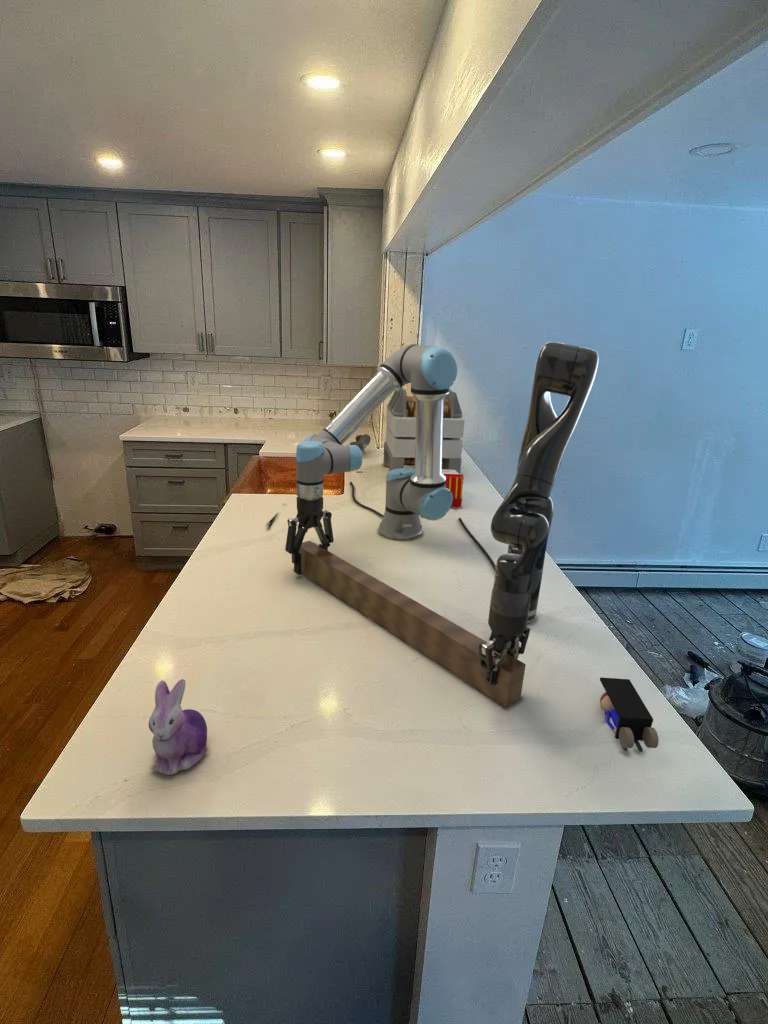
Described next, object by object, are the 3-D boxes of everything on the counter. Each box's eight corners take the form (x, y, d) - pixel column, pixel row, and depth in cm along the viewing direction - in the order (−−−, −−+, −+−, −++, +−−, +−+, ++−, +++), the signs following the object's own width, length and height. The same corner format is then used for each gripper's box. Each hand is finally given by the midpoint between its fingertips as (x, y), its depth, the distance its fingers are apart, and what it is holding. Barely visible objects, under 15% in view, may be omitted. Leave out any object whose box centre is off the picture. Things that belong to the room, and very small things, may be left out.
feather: (285, 507, 224) (287, 503, 224) (267, 531, 198) (270, 526, 197) (281, 504, 224) (284, 500, 223) (263, 528, 197) (265, 524, 197)
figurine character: (654, 765, 103) (622, 703, 116) (665, 735, 100) (631, 675, 113) (618, 764, 103) (590, 702, 116) (628, 734, 99) (598, 674, 113)
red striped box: (455, 465, 253) (467, 475, 224) (454, 495, 256) (465, 508, 227) (428, 465, 253) (437, 474, 224) (427, 494, 256) (435, 507, 226)
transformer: (382, 463, 289) (386, 382, 275) (445, 464, 293) (451, 384, 279) (390, 482, 257) (394, 392, 243) (460, 483, 261) (468, 394, 247)
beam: (295, 569, 169) (295, 544, 167) (309, 565, 173) (309, 540, 170) (505, 707, 114) (510, 673, 111) (520, 698, 117) (525, 664, 115)
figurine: (156, 786, 92) (147, 710, 87) (149, 745, 100) (140, 673, 95) (215, 767, 96) (210, 694, 91) (204, 729, 105) (198, 660, 100)
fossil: (346, 440, 316) (367, 425, 311) (357, 453, 319) (378, 438, 314) (340, 453, 296) (362, 438, 291) (351, 468, 299) (374, 452, 294)
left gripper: (285, 506, 151) (286, 583, 159) (347, 493, 164) (345, 565, 172) (270, 499, 156) (272, 573, 164) (332, 487, 169) (331, 556, 177)
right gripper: (501, 625, 105) (491, 701, 110) (546, 602, 113) (535, 674, 119) (470, 609, 110) (463, 682, 116) (516, 588, 119) (506, 657, 124)
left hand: (310, 569), depth 168 cm, fingers open, 8 cm apart
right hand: (499, 678), depth 117 cm, fingers closed on beam, 5 cm apart
